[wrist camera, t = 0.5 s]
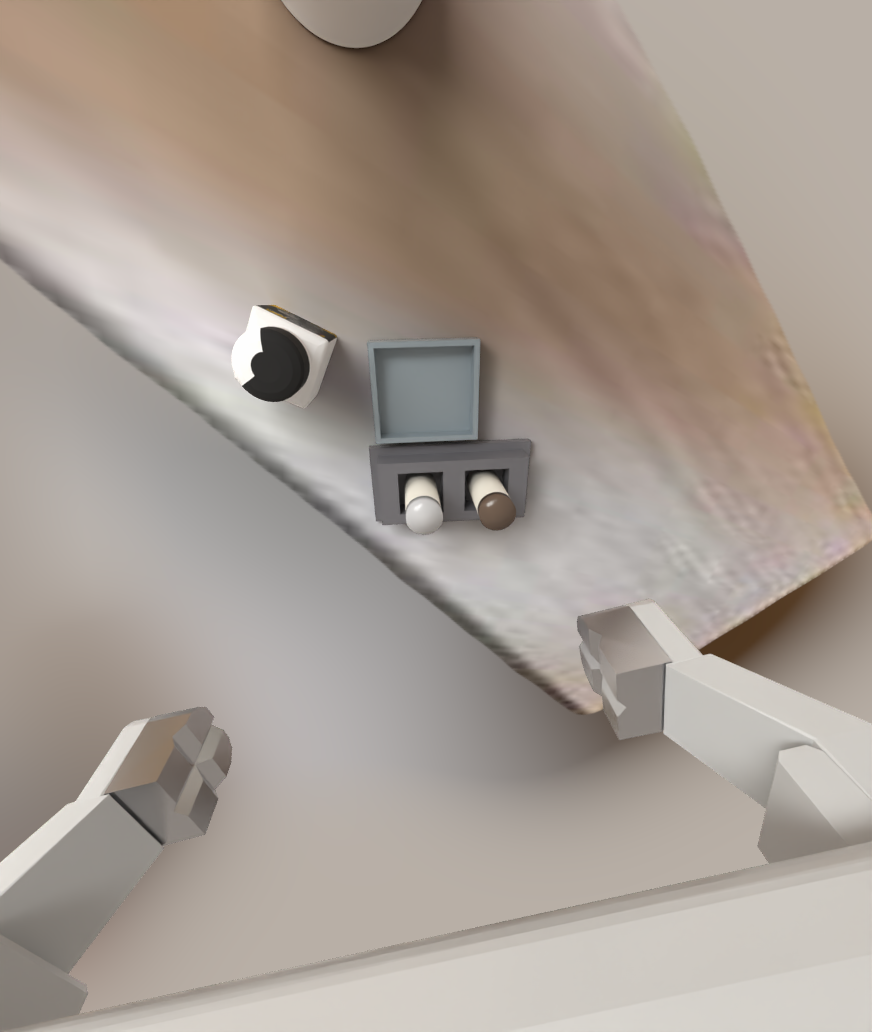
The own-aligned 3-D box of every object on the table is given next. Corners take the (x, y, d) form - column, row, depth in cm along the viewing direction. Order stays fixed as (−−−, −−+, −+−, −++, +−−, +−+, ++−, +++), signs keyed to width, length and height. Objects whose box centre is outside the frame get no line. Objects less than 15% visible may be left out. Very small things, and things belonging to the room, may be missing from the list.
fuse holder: (376, 517, 56) (375, 532, 52) (369, 445, 51) (367, 456, 48) (522, 509, 57) (531, 523, 54) (528, 438, 53) (538, 448, 49)
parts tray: (368, 340, 46) (367, 342, 44) (476, 337, 47) (480, 339, 45) (376, 437, 51) (376, 443, 49) (474, 433, 52) (477, 439, 50)
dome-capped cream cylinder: (403, 470, 52) (404, 502, 44) (435, 468, 52) (442, 500, 44) (405, 499, 54) (406, 535, 46) (435, 497, 54) (443, 533, 46)
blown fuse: (466, 467, 53) (480, 498, 44) (498, 465, 53) (517, 496, 45) (466, 495, 55) (479, 531, 46) (496, 494, 55) (514, 529, 46)
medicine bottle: (338, 335, 45) (321, 346, 35) (317, 396, 48) (294, 423, 38) (272, 303, 44) (233, 304, 33) (254, 368, 46) (212, 388, 36)
